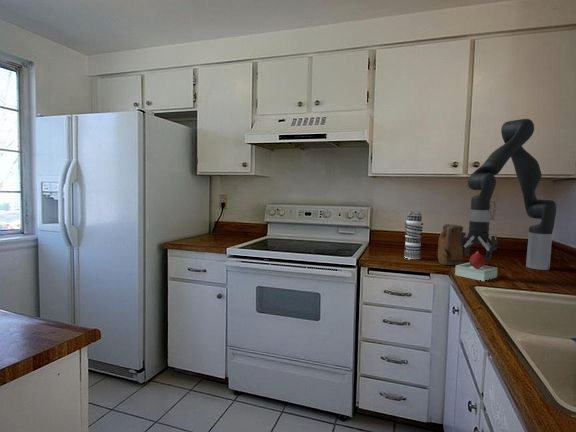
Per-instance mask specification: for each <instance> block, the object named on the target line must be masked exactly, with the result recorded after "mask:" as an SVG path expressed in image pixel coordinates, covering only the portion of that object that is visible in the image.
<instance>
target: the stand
mask: <svg viewBox="0 0 576 432" xmlns="http://www.w3.org/2000/svg"><path fill="white" fill-rule="evenodd" d="M498 270H499V269H498V267H496V266H495V267H494V266H489V265H487V264H486V265H485V264H484V265H483V266H482V267H481V268H479V269H475V268H474V267H473V266H472V265H471V264H470V262H465V263H461V264H459V265H455V268H454V271H455V272H454V276H456V277H457V276H458V277H463V278H467V279H472V280H476V281H480V280H481V282H486V281H485V280H487V281H488V280H489V279H490V280H492V279H496V278H498Z"/></svg>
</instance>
